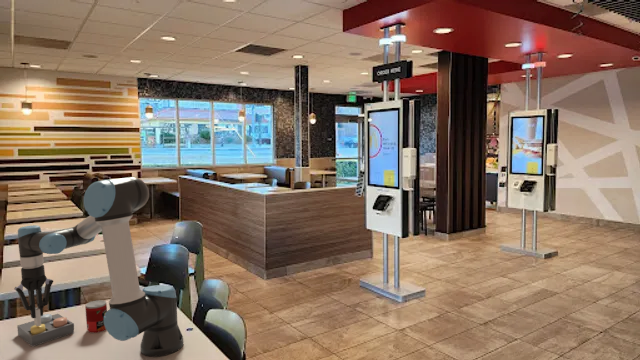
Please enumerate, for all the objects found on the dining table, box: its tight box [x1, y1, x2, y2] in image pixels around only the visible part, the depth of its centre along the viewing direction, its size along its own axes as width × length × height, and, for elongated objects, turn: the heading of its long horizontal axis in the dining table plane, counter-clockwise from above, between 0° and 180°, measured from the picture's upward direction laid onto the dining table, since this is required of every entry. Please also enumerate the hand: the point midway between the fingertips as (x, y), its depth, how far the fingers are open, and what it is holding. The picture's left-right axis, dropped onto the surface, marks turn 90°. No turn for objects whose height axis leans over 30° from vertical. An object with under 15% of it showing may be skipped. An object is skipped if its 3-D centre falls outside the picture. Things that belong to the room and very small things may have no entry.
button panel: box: [16, 313, 75, 347], centre depth 179 cm, size 16×15×4 cm
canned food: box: [85, 299, 108, 334], centre depth 182 cm, size 8×8×11 cm
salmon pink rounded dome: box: [53, 316, 68, 328], centre depth 179 cm, size 5×5×4 cm
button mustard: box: [31, 324, 46, 335], centre depth 173 cm, size 5×5×4 cm
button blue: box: [41, 313, 52, 324], centre depth 183 cm, size 5×5×4 cm
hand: (38, 324), depth 173 cm, fingers closed
